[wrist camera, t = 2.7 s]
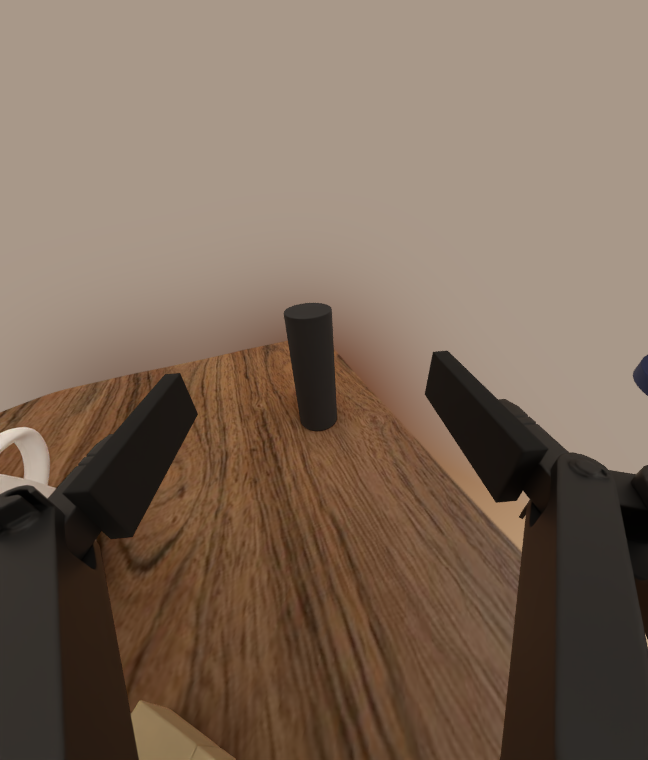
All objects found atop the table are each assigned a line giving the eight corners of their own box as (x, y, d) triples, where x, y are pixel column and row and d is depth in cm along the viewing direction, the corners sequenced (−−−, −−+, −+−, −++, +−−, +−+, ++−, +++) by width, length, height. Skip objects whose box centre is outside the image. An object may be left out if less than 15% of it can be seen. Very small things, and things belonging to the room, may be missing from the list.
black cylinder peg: (341, 409, 29) (337, 303, 22) (329, 434, 26) (321, 320, 19) (309, 403, 30) (296, 301, 23) (294, 426, 27) (274, 317, 20)
